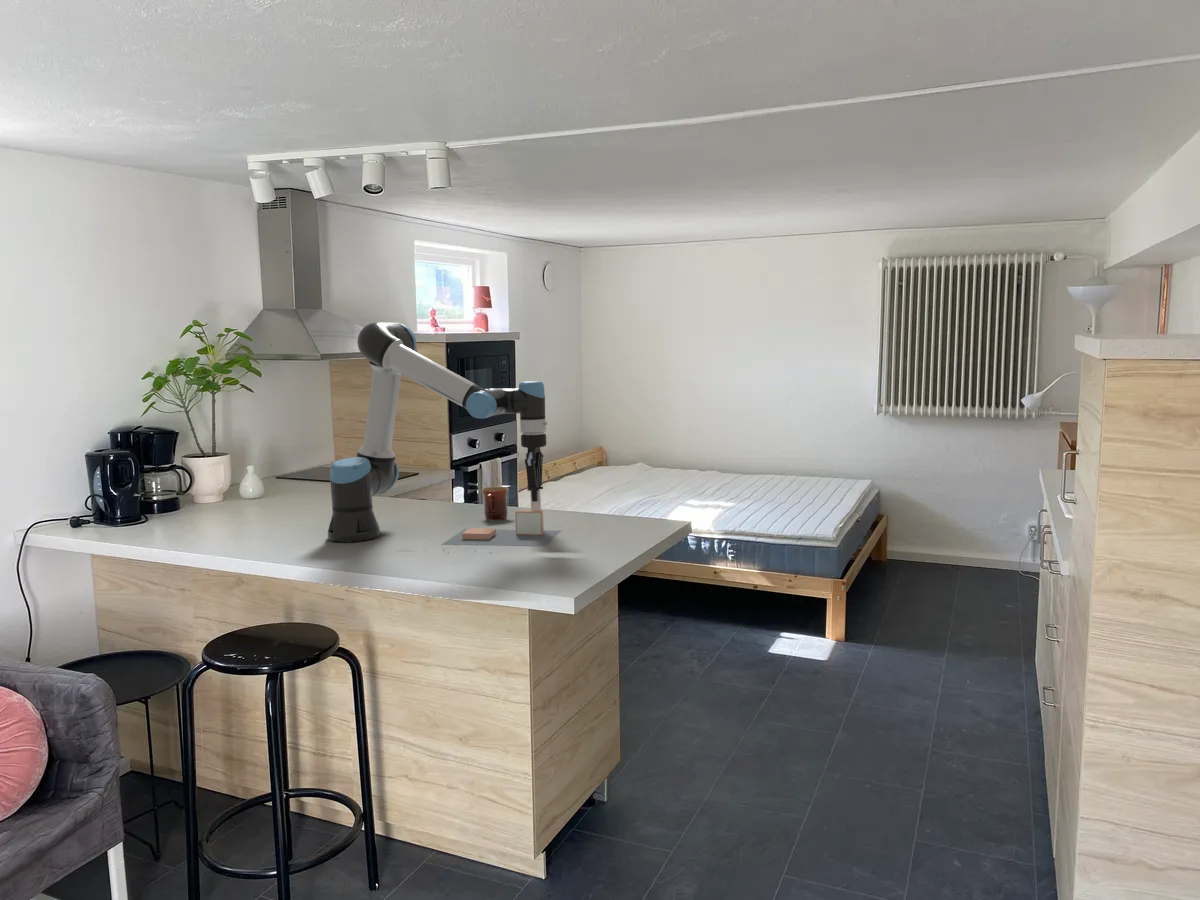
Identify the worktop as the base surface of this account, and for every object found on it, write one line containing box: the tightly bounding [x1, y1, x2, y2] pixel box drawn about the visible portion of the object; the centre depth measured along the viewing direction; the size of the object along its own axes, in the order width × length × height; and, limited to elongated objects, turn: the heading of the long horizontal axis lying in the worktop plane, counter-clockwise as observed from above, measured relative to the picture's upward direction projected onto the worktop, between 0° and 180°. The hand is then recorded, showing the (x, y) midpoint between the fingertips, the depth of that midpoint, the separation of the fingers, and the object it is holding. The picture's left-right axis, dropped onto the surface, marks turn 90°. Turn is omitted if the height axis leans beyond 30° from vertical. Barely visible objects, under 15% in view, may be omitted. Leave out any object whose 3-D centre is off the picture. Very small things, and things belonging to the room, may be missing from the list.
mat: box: [441, 528, 561, 547], centre depth 252 cm, size 30×20×1 cm, turn 80°
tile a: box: [462, 527, 497, 540], centre depth 253 cm, size 8×2×7 cm
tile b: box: [514, 509, 545, 535], centre depth 255 cm, size 8×2×7 cm, turn 80°
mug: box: [481, 486, 509, 521], centre depth 281 cm, size 12×9×10 cm
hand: (536, 511), depth 262 cm, fingers closed
